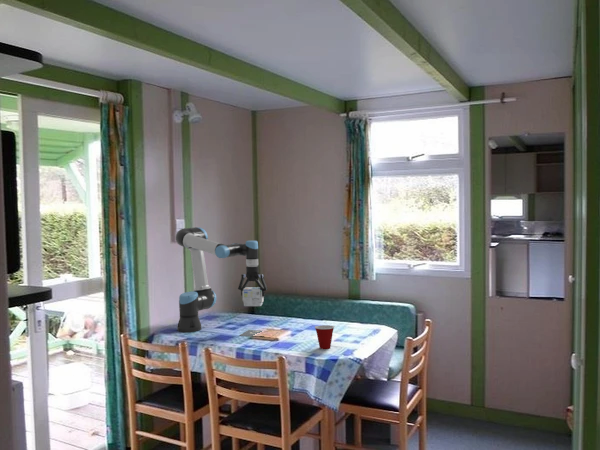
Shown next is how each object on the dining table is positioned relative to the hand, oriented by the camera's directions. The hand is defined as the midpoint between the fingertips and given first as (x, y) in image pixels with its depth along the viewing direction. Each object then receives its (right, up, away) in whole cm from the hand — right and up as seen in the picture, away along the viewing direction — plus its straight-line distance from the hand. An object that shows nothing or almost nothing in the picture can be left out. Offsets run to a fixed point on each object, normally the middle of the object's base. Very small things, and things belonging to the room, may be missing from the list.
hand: (253, 301), depth 319 cm
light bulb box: (0, -3, 0) cm, 3 cm away
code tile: (+4, -19, -2) cm, 20 cm away
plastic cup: (+42, -20, -35) cm, 59 cm away
